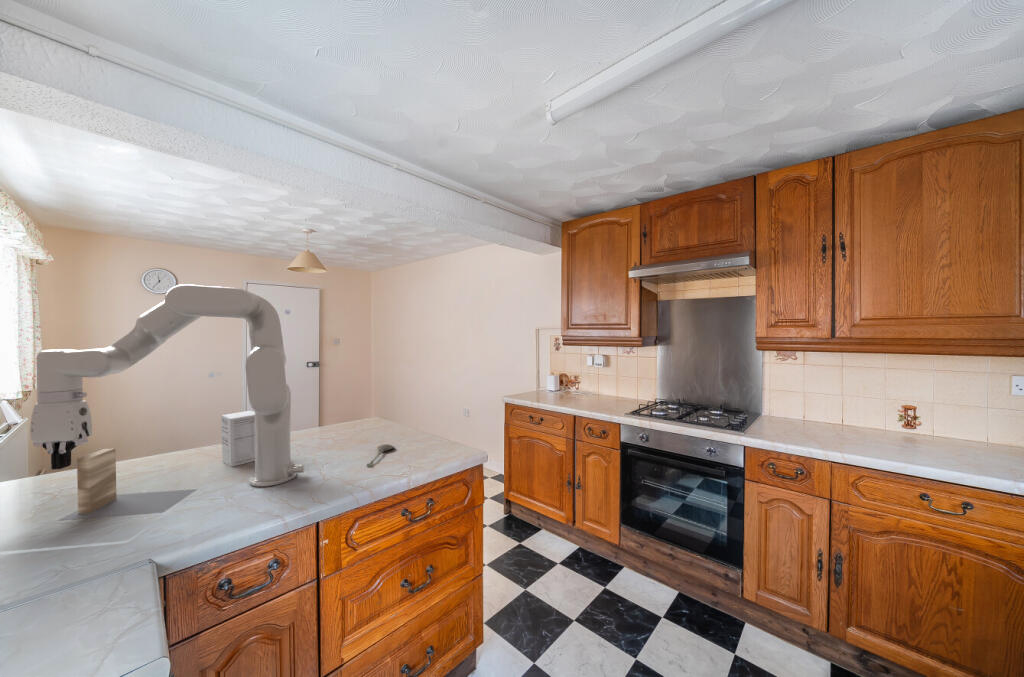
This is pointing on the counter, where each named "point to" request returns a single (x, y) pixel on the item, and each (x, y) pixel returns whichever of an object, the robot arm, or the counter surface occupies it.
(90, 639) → the counter surface
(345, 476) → the counter surface
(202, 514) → the counter surface
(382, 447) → the soupspoon
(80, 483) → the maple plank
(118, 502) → the rubber mat
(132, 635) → the counter surface
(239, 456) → the supplement box
